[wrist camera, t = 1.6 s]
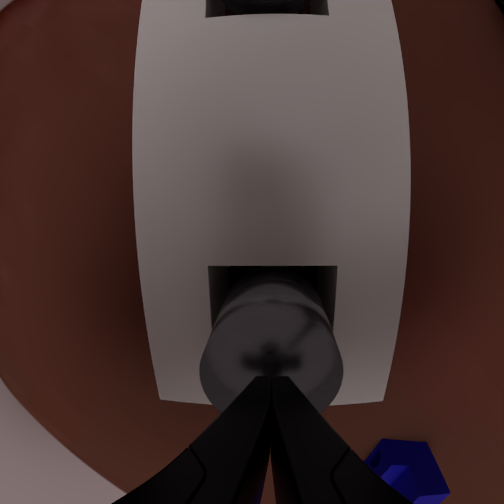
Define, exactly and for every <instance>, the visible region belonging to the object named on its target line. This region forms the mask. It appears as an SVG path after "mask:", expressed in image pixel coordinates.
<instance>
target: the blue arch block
mask: <svg viewBox="0 0 504 504" xmlns="http://www.w3.org/2000/svg"><path fill="white" fill-rule="evenodd" d="M364 463H365V464H366V465H367V466H368V467H369V468H370V469H371V470H372V471H373V472H375V473H376V474H377V475H378V476H379V477H380V478H382V479H383V480H384V481H385V482H386V483H387V484H389V485H390V486H391V487H392V488H394V489H395V490H396V491H398V492H399V493H400V494H402V495H403V496H404V497H406V498H407V499H408V500H410V501H411V502H412V503H414V504H440V503H441V502H442V501H443V500H444V499H445V498H446V497H447V496H448V495H449V494H450V491H449V488H448V486H447V484H446V482H445V480H444V477H443V475H442V473H441V471H440V469H439V467H438V465H437V463H436V460H435V458H434V456H433V454H432V452H431V450H430V448H429V446H428V444H427V442H417V441H402V440H390V439H382V440H381V441H380V442H379V443H378V445H377V446H376V447H375V449H374V450H373V451H372V452H371V454H370V455H369V456H368V457H367V459H366V460H365V461H364Z"/></svg>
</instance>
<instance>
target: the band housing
mask: <svg viewBox="0 0 504 504" xmlns="http://www.w3.org/2000/svg"><path fill="white" fill-rule="evenodd" d="M309 6H310V15H309V14H249V15H233V16H225V4H224V3H223V2H222V0H142V6H141V13H140V21H139V30H138V39H137V49H136V61H135V76H134V94H133V127H132V160H133V195H134V214H135V229H136V242H137V254H138V264H139V274H140V282H141V291H142V299H143V306H144V313H145V320H146V327H147V333H148V339H149V345H150V351H151V357H152V362H153V368H154V373H155V378H156V383H157V388H158V393H159V397H160V399H161V400H170V401H178V402H188V403H199V404H211V405H212V403H211V402H210V401H209V399H208V398H207V396H206V394H205V393H204V391H203V388H202V385H201V382H200V376H199V367H200V360H201V357H202V354H203V351H204V349H205V346H206V344H207V342H208V339H209V337H210V334H211V332H212V329H213V327H214V325H215V322H216V320H217V317H218V315H219V312H220V310H221V308H222V305H223V303H224V300H225V298H226V296H227V293H228V291H229V269H228V266H318V278H317V292H318V294H319V297H320V299H321V302H322V305H323V307H324V310H325V313H326V315H327V318H328V321H329V323H330V326H331V329H332V332H333V334H334V337H335V340H336V343H337V345H338V348H339V351H340V354H341V357H342V361H343V369H344V371H343V380H342V384H341V387H340V390H339V392H338V394H337V395H336V397H335V399H334V400H333V401H332V403H331V404H330V405H344V404H356V403H367V402H377V401H383V398H384V394H385V390H386V386H387V382H388V377H389V373H390V368H391V363H392V358H393V353H394V348H395V343H396V337H397V332H398V326H399V319H400V313H401V306H402V299H403V291H404V283H405V274H406V264H407V253H408V239H409V222H410V191H411V165H410V134H409V118H408V105H407V94H406V84H405V76H404V68H403V61H402V54H401V48H400V42H399V36H398V30H397V25H396V20H395V15H394V10H393V6H392V2H391V0H311V1H310V2H309Z"/></svg>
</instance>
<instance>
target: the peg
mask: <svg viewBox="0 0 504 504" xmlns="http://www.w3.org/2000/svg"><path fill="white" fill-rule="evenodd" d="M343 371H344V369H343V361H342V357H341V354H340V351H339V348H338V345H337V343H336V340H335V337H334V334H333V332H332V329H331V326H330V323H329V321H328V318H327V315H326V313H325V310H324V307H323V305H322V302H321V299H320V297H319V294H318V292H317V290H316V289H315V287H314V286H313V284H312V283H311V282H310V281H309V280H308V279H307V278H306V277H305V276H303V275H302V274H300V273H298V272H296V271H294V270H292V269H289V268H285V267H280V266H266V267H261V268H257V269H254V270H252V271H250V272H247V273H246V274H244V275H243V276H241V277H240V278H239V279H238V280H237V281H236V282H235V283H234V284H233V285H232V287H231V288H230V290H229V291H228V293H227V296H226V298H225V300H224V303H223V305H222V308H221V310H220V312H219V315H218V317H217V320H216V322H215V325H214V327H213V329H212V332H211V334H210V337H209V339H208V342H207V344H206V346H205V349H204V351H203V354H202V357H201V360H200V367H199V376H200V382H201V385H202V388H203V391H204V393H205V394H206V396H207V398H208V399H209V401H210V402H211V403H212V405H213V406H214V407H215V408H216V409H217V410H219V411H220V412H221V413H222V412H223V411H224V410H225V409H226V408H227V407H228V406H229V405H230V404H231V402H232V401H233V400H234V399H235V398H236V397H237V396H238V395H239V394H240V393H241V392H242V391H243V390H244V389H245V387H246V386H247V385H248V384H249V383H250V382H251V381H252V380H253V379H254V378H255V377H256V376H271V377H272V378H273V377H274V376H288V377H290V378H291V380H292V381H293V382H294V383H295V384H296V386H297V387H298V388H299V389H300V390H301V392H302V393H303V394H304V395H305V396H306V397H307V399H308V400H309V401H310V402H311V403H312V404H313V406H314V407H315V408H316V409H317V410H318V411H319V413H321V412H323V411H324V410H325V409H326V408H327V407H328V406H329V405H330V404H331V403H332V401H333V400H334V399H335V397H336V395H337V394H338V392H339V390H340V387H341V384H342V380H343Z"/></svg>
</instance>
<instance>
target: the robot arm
mask: <svg viewBox="0 0 504 504" xmlns="http://www.w3.org/2000/svg"><path fill="white" fill-rule="evenodd" d="M496 1H497V3H498V4H499V6H500V7H501V9H502V10H503V11H504V0H496ZM270 441H271V465H272V473H273V482H274V490H275V499H276V504H414V503H412V502H411V501H410V500H408V499H407V498H406V497H404V496H403V495H402V494H400V493H399V492H398V491H396V490H395V489H394V488H392V487H391V486H390V485H389V484H387V483H386V482H385V481H384V480H383V479H382V478H380V477H379V476H378V475H377V474H376V473H375V472H373V471H372V470H371V469H370V468H369V467H368V466H367V465H366V464H365V463H364V462H363V461H362V460H361V459H360V457H359V456H358V455H357V454H356V453H355V452H354V451H353V450H352V449H351V448H350V447H349V445H348V444H347V443H346V442H345V441H344V440H343V439H342V438H341V437H340V435H339V434H338V433H337V432H336V431H335V430H334V429H333V427H332V426H331V425H330V424H329V423H328V422H327V421H326V419H325V418H324V417H323V416H322V415H321V414H320V413H319V411H318V410H317V409H316V408H315V407H314V406H313V404H312V403H311V402H310V401H309V400H308V399H307V397H306V396H305V395H304V394H303V393H302V392H301V390H300V389H299V388H298V387H297V386H296V384H295V383H294V382H293V381H292V380H291V378H290V377H288V376H274V377H273V378H272V377H271V376H256V377H255V378H254V379H253V380H252V381H251V382H250V383H249V384H248V385H247V386H246V387H245V389H244V390H243V391H242V392H241V393H240V394H239V395H238V396H237V397H236V398H235V399H234V400H233V401H232V402H231V404H230V405H229V406H228V407H227V408H226V409H225V410H224V411H223V412H222V413H221V414H220V415H219V416H218V417H217V418H216V419H215V420H214V421H213V422H212V423H211V424H210V425H209V426H208V427H207V428H206V429H205V430H204V431H203V432H202V433H201V434H200V435H199V436H198V437H197V438H196V439H195V440H194V441H193V442H192V443H191V444H190V445H189V448H186V449H185V450H184V451H183V452H182V453H181V454H180V455H179V456H178V457H176V458H175V459H174V460H173V461H172V462H171V463H170V464H168V465H167V466H166V467H165V468H164V469H162V470H161V471H160V472H158V473H157V474H156V475H154V476H153V477H152V478H150V479H149V480H148V481H146V482H145V483H143V484H142V485H140V486H139V487H137V488H136V489H134V490H132V491H131V492H129V493H128V494H126V495H125V496H123V497H121V498H120V499H118V500H117V501H115V502H114V503H112V504H260V501H261V497H262V492H263V487H264V482H265V477H266V472H267V467H268V462H269V456H270ZM350 449H351V450H350Z"/></svg>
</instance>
